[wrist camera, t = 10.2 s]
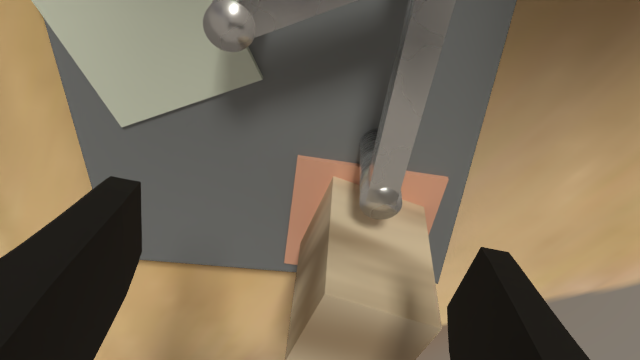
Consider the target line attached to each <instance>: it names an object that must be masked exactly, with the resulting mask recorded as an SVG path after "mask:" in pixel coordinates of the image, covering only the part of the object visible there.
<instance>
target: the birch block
mask: <svg viewBox="0 0 640 360" xmlns="http://www.w3.org/2000/svg"><path fill="white" fill-rule="evenodd" d="M441 330H442V325H441V318H440V311H439V304H438V298H437V291H436V284H435V277H434V271H433V264H432V257H431V251H430V244H429V237H428V230H427V224H426V217H425V210H424V207H423V206H420V205H417V204H414V203H411V202H408V201H405V200H402V208H401V210H400V211H399V212H398V213H397V214H396V215H395V216H393V217H391V218H388V219H383V220H378V219H373V218H370V217H368V216H366V215H365V214H364V213H363V212H362V210H361V208H360V185H358V184H355V183H352V182H349V181H346V180H343V179H340V178H337V177H335V176H333V178H332V180H331V182H330V184H329V186H328V188H327V190H326V192H325V194H324V196H323V198H322V200H321V202H320V204H319V206H318V208H317V210H316V212H315V214H314V216H313V218H312V220H311V222H310V224H309V226H308V228H307V230H306V232H305V234H304V237H303V239H302V241H301V243H300V250H299V258H298V265H297V273H296V280H295V288H294V295H293V302H292V310H291V317H290V325H289V332H288V339H287V347H286V354H285V360H416V358H417V357H418V356H419V355H420V354H421V353H422V351H423V350H424V349H425V348H426V347H427V346H428V345H429V343H430V342H431V341H432V340H433V339H434V338H435V337H436V335H437V334H438V333H439V332H440V331H441Z"/></svg>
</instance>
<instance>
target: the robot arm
mask: <svg viewBox="0 0 640 360" xmlns="http://www.w3.org/2000/svg"><path fill="white" fill-rule="evenodd" d="M141 253H142V217H141V182H139V181H134V180H129V179H123V178H118V177H113V176H110V177H108V178H107V179H105V180H104V181H103V182H101V183H100V184H99V185H97V186H96V187H95V188H94V189H92V190H91V191H90V192H89V193H87V194H86V195H85V196H84V197H82V198H81V199H80V200H79V201H77V202H76V203H75V204H74V205H72V206H71V207H70V208H68V209H67V210H66V211H65V212H63V213H62V214H61V215H59V216H58V217H57V218H56V219H54V220H53V221H52V222H50V223H49V224H48V225H46V226H45V227H43V228H42V229H41V230H39V231H38V232H37V233H35V234H34V235H33V236H31V237H30V238H29V239H27V240H26V241H25V242H23V243H22V244H20V245H19V246H18V247H16V248H15V249H13V250H12V251H10V252H9V253H7V254H6V255H4V256H3V257H1V258H0V360H94V358H95V356H96V354H97V352H98V350H99V348H100V346H101V344H102V342H103V340H104V338H105V336H106V334H107V332H108V330H109V329H110V327H111V325H112V323H113V321H114V319H115V317H116V315H117V313H118V311H119V309H120V307H121V305H122V303H123V301H124V299H125V297H126V294H127V292H128V289H129V286H130V284H131V281H132V278H133V276H134V273H135V270H136V267H137V264H138V262H139V259H140V256H141ZM447 315H448V337H449V338H448V339H449V353H450V360H590V359H589V358H588V357H587V355H586V354H585V353H584V352H583V350H582V349H581V348H580V347H579V345H578V344H577V343H576V341H575V340H574V339H573V338H572V337H571V335H570V334H569V333H568V331H567V330H566V329H565V327H564V326H563V325H562V323H561V322H560V321H559V319H558V318H557V317H556V315H555V314H554V313H553V311H552V310H551V309H550V307H549V306H548V305H547V303H546V302H545V300H544V299H543V298H542V296H541V295H540V294H539V292H538V291H537V290H536V288H535V287H534V285H533V284H532V283H531V281H530V280H529V279H528V277H527V276H526V275H525V273H524V272H523V271H522V269H521V268H520V266H519V265H518V264H517V263H516V261H515V260H514V259H513V257H512V256H511V255H510V254H509V252H504V251H499V250H494V249H489V248H484V247H481V248H480V250H479V252H478V253H477V255H476V257H475V259H474V260H473V262H472V264H471V266H470V268H469V269H468V271H467V273H466V275H465V276H464V278H463V280H462V282H461V283H460V285H459V287H458V289H457V290H456V292H455V294H454V296H453V298H452V299H451V301H450V303H449V305H448V306H447Z"/></svg>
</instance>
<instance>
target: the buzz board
mask: <svg viewBox="0 0 640 360" xmlns="http://www.w3.org/2000/svg"><path fill="white" fill-rule="evenodd" d="M212 1H213V0H32V2H33V3H34V5H35V6H36V7H37V9H38V10H39V12H40V13H41V14H42V16H43V18H44V21H45V25H46V28H47V32H48V35H49V39H50V42H51V46H52V49H53V53H54V56H55V60H56V63H57V67H58V70H59V74H60V77H61V81H62V84H63V88H64V91H65V95H66V98H67V102H68V105H69V109H70V112H71V116H72V119H73V123H74V126H75V130H76V133H77V137H78V140H79V144H80V147H81V151H82V154H83V158H84V161H85V165H86V168H87V172H88V175H89V179H90V182H91V186H92V189H94V188H95V187H96V186H97V185H99V184H100V183H101V182H103V181H104V180H105V179H107V178H108V177H110V176H113V177H118V178H123V179H129V180H134V181H139V182H141V217H142V253H141V256H140V259H139V260H151V261H164V262H176V263H189V264H201V265H213V266H226V267H238V268H250V269H263V270H275V271H288V272H297V265H298V258H299V250H300V243H301V241H302V239H303V237H304V234H305V232H306V230H307V228H308V226H309V224H310V222H311V220H312V218H313V216H314V214H315V212H316V210H317V208H318V206H319V204H320V202H321V200H322V198H323V196H324V194H325V192H326V190H327V188H328V186H329V184H330V182H331V180H332V178H333V176H335V177H337V178H340V179H343V180H346V181H349V182H352V183H355V184H358V185H360V141H361V139H362V137H363V136H364V135H365V134H366V133H367V132H369V131H371V130H375V129H378V128H379V124H380V120H381V116H382V111H383V107H384V103H385V99H386V94H387V90H388V86H389V82H390V77H391V73H392V69H393V65H394V60H395V56H396V52H397V48H398V44H399V39H400V35H401V31H402V27H403V22H404V18H405V14H406V10H407V5H408V1H409V0H357V1H354V2H351V3H349V4H346V5H343V6H340V7H338V8H335V9H332V10H329V11H327V12H324V13H321V14H318V15H316V16H313V17H310V18H307V19H305V20H302V21H299V22H297V23H294V24H291V25H288V26H286V27H283V28H280V29H277V30H275V31H272V32H269V33H266V34H264V35H261V36H258V37H255V38H254V39H253V41H252V43H251V44H250V45H249V46H248V47H247V48H245V49H244V50H241V51H238V52H227V51H224V50H221V49H219V48H217V47H216V46H214V45H213V44H212V43H211V42H210V41H209V39H208V38H207V36H206V34H205V32H204V29H203V17H204V14H205V12H206V10H207V9H208V7H209V6H210V4H211V3H212ZM516 1H517V0H456V1H455V5H454V8H453V12H452V15H451V19H450V22H449V25H448V29H447V32H446V36H445V39H444V43H443V46H442V49H441V53H440V56H439V60H438V63H437V66H436V70H435V73H434V77H433V80H432V84H431V87H430V90H429V94H428V97H427V101H426V104H425V108H424V111H423V114H422V118H421V121H420V125H419V128H418V132H417V135H416V138H415V142H414V145H413V149H412V152H411V156H410V159H409V162H408V166H407V169H406V173H405V176H404V179H403V183H402V186H401V193H402V200H405V201H408V202H411V203H414V204H417V205H420V206H423V207H424V210H425V217H426V224H427V230H428V237H429V244H430V251H431V257H432V264H433V271H434V277H435V283H436V284H438V281H439V278H440V274H441V271H442V267H443V263H444V260H445V256H446V253H447V249H448V245H449V242H450V238H451V235H452V231H453V227H454V224H455V220H456V217H457V213H458V209H459V206H460V202H461V199H462V195H463V192H464V188H465V184H466V181H467V177H468V174H469V170H470V166H471V163H472V159H473V156H474V152H475V148H476V145H477V141H478V138H479V134H480V130H481V127H482V123H483V120H484V116H485V113H486V109H487V105H488V102H489V98H490V95H491V91H492V87H493V84H494V80H495V77H496V73H497V69H498V66H499V62H500V59H501V55H502V51H503V48H504V44H505V41H506V37H507V33H508V30H509V26H510V23H511V19H512V16H513V12H514V8H515V5H516Z"/></svg>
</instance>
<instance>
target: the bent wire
mask: <svg viewBox="0 0 640 360" xmlns="http://www.w3.org/2000/svg"><path fill="white" fill-rule="evenodd" d="M354 1H357V0H213V1H212V3H211V4H210V6H209V7H208V9H207V10H206V12H205V14H204V17H203V29H204V32H205V34H206V36H207V38H208V39H209V41H210V42H211V43H212V44H213V45H214V46H216V47H217V48H219V49H221V50H224V51H227V52H238V51H241V50H244V49H245V48H247V47H248V46H249V45H250V44H251V43H252V41H253V39H254V38H255V37H258V36H261V35H264V34H266V33H269V32H272V31H275V30H277V29H280V28H283V27H286V26H288V25H291V24H294V23H297V22H299V21H302V20H305V19H307V18H310V17H313V16H316V15H318V14H321V13H324V12H327V11H329V10H332V9H335V8H338V7H340V6H343V5H346V4H349V3H351V2H354ZM455 1H456V0H409V1H408V5H407V10H406V14H405V18H404V22H403V27H402V31H401V35H400V39H399V44H398V48H397V52H396V56H395V60H394V65H393V69H392V73H391V77H390V82H389V86H388V90H387V94H386V99H385V103H384V107H383V111H382V116H381V120H380V124H379V128H378V129H375V130H371V131H369V132H367V133H366V134H365V135H364V136H363V137H362V139H361V141H360V208H361V210H362V212H363V213H364V214H365V215H366V216H368V217H370V218H373V219H378V220H383V219H388V218H391V217H393V216H395V215H396V214H397V213H398V212H399V211H400V210H401V208H402V193H401V186H402V183H403V179H404V176H405V173H406V169H407V166H408V162H409V159H410V156H411V152H412V149H413V145H414V142H415V138H416V135H417V132H418V128H419V125H420V121H421V118H422V114H423V111H424V108H425V104H426V101H427V97H428V94H429V90H430V87H431V84H432V80H433V77H434V73H435V70H436V66H437V63H438V60H439V56H440V53H441V49H442V46H443V43H444V39H445V36H446V32H447V29H448V25H449V22H450V19H451V15H452V12H453V8H454V5H455Z"/></svg>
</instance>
